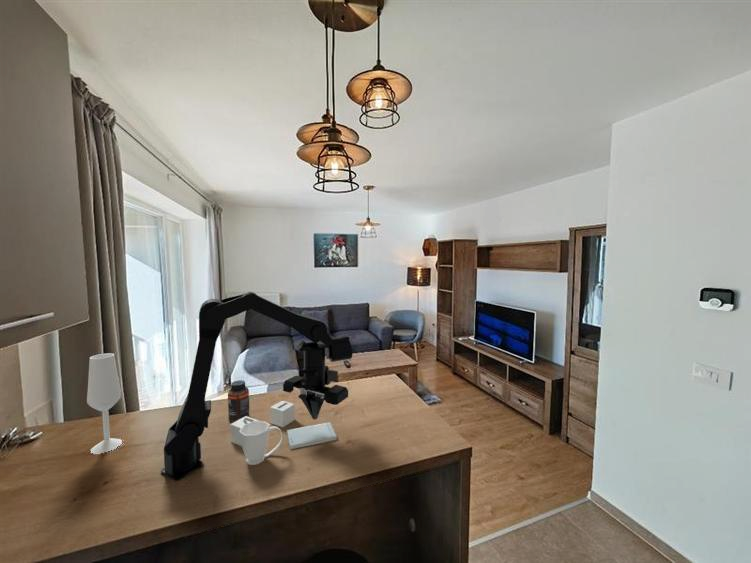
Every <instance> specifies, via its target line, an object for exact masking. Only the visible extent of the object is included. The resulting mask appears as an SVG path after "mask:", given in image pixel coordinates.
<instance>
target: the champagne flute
mask: <svg viewBox="0 0 751 563" xmlns="http://www.w3.org/2000/svg"><path fill="white" fill-rule="evenodd" d="M88 362H89V363H88V364H89V365H88V379H87V380H88V382H87V394H86V403H87V405H88V406H89V407H91V408H92V409H94V410H96V411H99V412H102V427H103V428H102V429H103V440H102V441H100V442H99V443H97V444H96V445H94V446H92V448H91V449H90V451H91V452H90V454H92V453H93V454H92V455H100V454H101V453H103V454H105V453H104V452H107V453H109V452H108V451H110V452H112V451H115V450H117V449H118V448H119V447H118V446H120V445H121V444H122V440H123V439H122V438H115V437H114V438H112V437H111V435H110V434H111V433H110V430H111V429H110V414H109V410H110V409H111V408H113V407H114V406H115V405H116V404H117V403H118V402H119V400H120V399H121V397H122V391H121V385H120V380H119V375H118V369H117V364H116V363H117V362H116V357H115V353H111V352H108V353H100V354H95V355H92V356H90V357H89V361H88ZM121 439H122V440H121ZM122 445H123V444H122ZM122 445H121V446H122ZM121 446H120V447H121ZM117 447H118V448H117ZM116 448H117V449H116ZM114 449H115V450H114ZM111 450H112V451H111ZM101 455H102V454H101Z"/></svg>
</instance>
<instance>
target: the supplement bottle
mask: <svg viewBox="0 0 751 563" xmlns="http://www.w3.org/2000/svg"><path fill="white" fill-rule="evenodd" d="M227 406H228V407H227V408H228V409H227V411H228V421H229V422H231V423H234V422H236V421H238V420H239V419H241V418H243V417H245V416H247V417H250V416H251V414H250V413H251V412H250V390H249V388H248V387H247V386H246V381H245V380H244V379H242V380H241V379H239V380H235V381H232V382H231V383H230V389H229V390H228V391H227Z"/></svg>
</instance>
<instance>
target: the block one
mask: <svg viewBox="0 0 751 563" xmlns="http://www.w3.org/2000/svg"><path fill="white" fill-rule="evenodd" d="M295 408H296V407H295V403H292V402H289V401H285V400H281V401H278V402H277V403H275V404H274V405H272V406H270V408H269V412H270V414H269V418H270V420H269V421H270V423H269V424H270V425H271V424H272V425H273V426H276V427H280V428H284V427H286V426H288V425H289V424H291V423H292V422H293V421H295V420H296V417H295V416H296V413H295V410H296V409H295Z"/></svg>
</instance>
